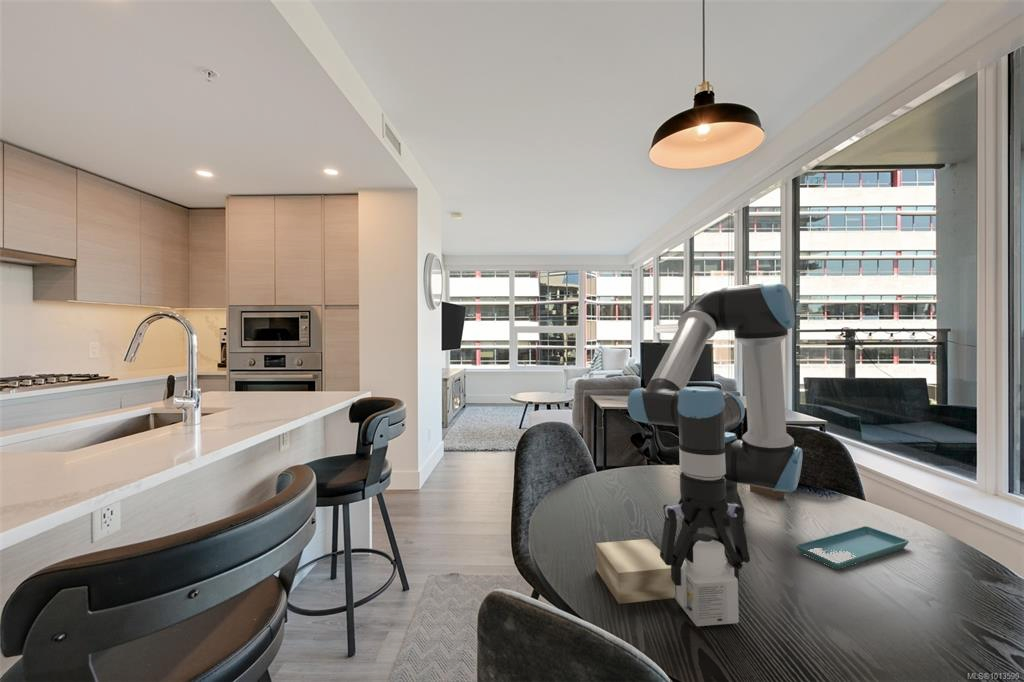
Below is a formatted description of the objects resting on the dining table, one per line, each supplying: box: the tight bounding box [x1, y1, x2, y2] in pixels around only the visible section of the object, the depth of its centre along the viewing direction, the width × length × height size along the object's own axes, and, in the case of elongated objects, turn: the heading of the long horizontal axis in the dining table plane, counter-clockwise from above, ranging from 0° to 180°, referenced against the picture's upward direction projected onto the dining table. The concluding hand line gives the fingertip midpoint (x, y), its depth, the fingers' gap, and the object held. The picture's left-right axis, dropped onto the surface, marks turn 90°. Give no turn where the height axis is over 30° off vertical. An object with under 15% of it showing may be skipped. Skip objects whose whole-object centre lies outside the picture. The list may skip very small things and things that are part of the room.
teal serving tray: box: [795, 525, 910, 570], centre depth 96 cm, size 26×9×2 cm, turn 111°
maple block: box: [595, 538, 675, 604], centre depth 84 cm, size 12×12×6 cm
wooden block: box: [749, 485, 785, 500], centre depth 133 cm, size 9×4×18 cm, turn 20°
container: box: [674, 532, 740, 627], centre depth 73 cm, size 8×8×13 cm
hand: (705, 601), depth 73 cm, fingers closed on container, 8 cm apart
